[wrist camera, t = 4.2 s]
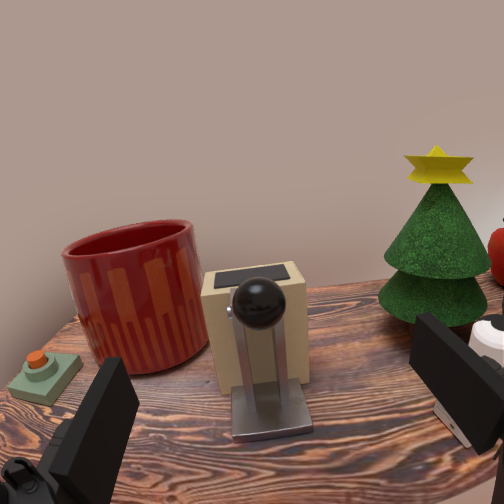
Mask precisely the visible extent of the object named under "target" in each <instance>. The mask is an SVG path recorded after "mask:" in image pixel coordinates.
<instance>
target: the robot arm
mask: <svg viewBox="0 0 504 504" xmlns="http://www.w3.org/2000/svg"><path fill="white" fill-rule="evenodd" d="M409 364H410V365H411V367H412V368H413V369H414V370H415V372H416V373H417V374H418V375H419V377H420V378H421V379H422V380H423V382H424V383H425V384H426V385H427V387H428V388H429V389H430V391H431V392H432V393H433V394H434V396H435V397H436V398H437V400H438V401H439V402H440V404H441V405H442V406H443V408H444V409H445V410H446V411H447V413H448V414H449V415H450V417H451V418H452V419H453V421H454V422H455V423H456V425H457V426H458V427H459V429H460V430H461V432H462V433H463V434H464V436H465V437H466V438H467V440H468V441H469V442H470V444H471V445H472V447H473V448H474V449H475V451H476V452H477V454H478V455H481V454H482V453H484V452H486V451H488V450H489V449H491V448H493V447H494V445H495V443H496V442H497V440H498V438H499V437H500V438H501V440H502V441H503V442H502V444H501V446H500V447H499V449H498V450H497V452H496V454H495V455H494V458H493V460H495V459H496V458H497V456H498V455H499V462H498V469H497V475H496V481H495V487H494V492H493V497H492V502H491V504H504V368H502V366H501V365H500V364H499V363H498V362H497V361H496V360H494V359H492V358H490V357H488V356H486V355H484V356H481V357H480V356H479V355H478V354H477V353H476V352H475V351H474V350H473V349H472V348H470V347H469V346H468V345H467V344H466V343H465V342H464V341H463V340H462V339H460V338H459V337H458V336H457V335H456V334H455V333H454V332H452V331H451V330H450V329H449V328H448V327H447V326H446V325H444V324H443V323H442V322H441V321H440V320H439V319H437V318H436V317H435V316H434V315H433V314H432V313H430V312H426V313H422V314H418V315H416V319H415V327H414V334H413V341H412V348H411V354H410V360H409ZM139 404H140V402H139V400H138V398H137V395H136V393H135V390H134V388H133V386H132V383H131V381H130V378H129V375H128V373H127V370H126V368H125V365H124V362H123V360H122V357H106V359H105V361H104V362H103V364H102V366H101V368H100V369H99V371H98V373H97V375H96V377H95V379H94V380H93V382H92V384H91V386H90V388H89V390H88V391H87V393H86V395H85V397H84V399H83V401H82V403H81V405H80V406H79V408H78V410H77V412H76V414H75V416H74V418H73V419H65V420H64V421H63V422H62V423H61V424H60V425H59V426H58V427H57V428H56V430H55V432H54V434H53V438H51V440H50V442H49V446H47V448H46V450H45V452H44V453H43V455H42V457H41V459H40V461H39V464H38V466H37V468H35V467H34V466H33V465H32V463H31V462H30V461H29V460H28V459H26V458H24V457H15V458H12V459H10V460H8V461H7V462H6V463H5V464H4V466H3V468H2V473H1V476H2V477H3V478H4V479H5V481H6V482H1V481H0V504H110V502H111V498H112V494H113V491H114V487H115V483H116V480H117V476H118V473H119V469H120V466H121V462H122V459H123V455H124V452H125V449H126V445H127V442H128V439H129V436H130V432H131V429H132V426H133V423H134V419H135V416H136V413H137V410H138V407H139Z"/></svg>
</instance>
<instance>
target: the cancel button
mask: <svg viewBox="0 0 504 504" xmlns="http://www.w3.org/2000/svg"><path fill="white" fill-rule="evenodd" d="M27 361H28V363H29V366H30V368H31V369H38V368H41V367H43V366H45V365H46V364H47V362H48V360H47V358H46V356H45V353H44V351H42V350H38V351H34V352H32V353H30V354H29V355H28V356H27Z"/></svg>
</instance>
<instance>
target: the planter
mask: <svg viewBox="0 0 504 504" xmlns="http://www.w3.org/2000/svg"><path fill="white" fill-rule="evenodd" d="M61 257H62V261H63V266H64V269H65V273H66V277H67V281H68V284H69V288H70V291H71V294H72V298H73V301H74V305H75V307H76V311H77V314H78V317H79V320H80V323H81V326H82V328H83V331H84V334H85V337H86V339H87V342H88V345H89V347H90V350H91V352H92V355H93V357H94V359H95V360H96V362H97V363H98V364H99V365H101V366H102V364H103V362H104V361H105V359H106V357H122V360H123V362H124V365H125V368H126V370H127V373H128V374H131V375H139V374H149V373H155V372H159V371H163V370H166V369H169V368H172V367H175V366H177V365H179V364H181V363H183V362H185V361H186V360H188V359H190V358H191V357H193V356H194V355H195V354H196V353H198V352H199V351H200V350H201V349H202V348H203V347H204V346H205V345H206V343H207V342H208V340H209V337H208V332H207V327H206V322H205V317H204V312H203V307H202V302H201V297H200V296H201V291H202V286H203V276H202V271H201V265H200V260H199V253H198V248H197V242H196V236H195V230H194V225H193V223H192V222H190V221H187V220H180V219H174V220H173V219H170V220H157V221H150V222H142V223H136V224H132V225H126V226H122V227H117V228H113V229H110V230H106V231H103V232H100V233H96V234H93V235H90V236H88V237H85V238H82V239H80V240H78V241H76V242H74V243H72V244H70V245H68V246H67V247H66V248H64V249H63V251H62V252H61Z"/></svg>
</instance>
